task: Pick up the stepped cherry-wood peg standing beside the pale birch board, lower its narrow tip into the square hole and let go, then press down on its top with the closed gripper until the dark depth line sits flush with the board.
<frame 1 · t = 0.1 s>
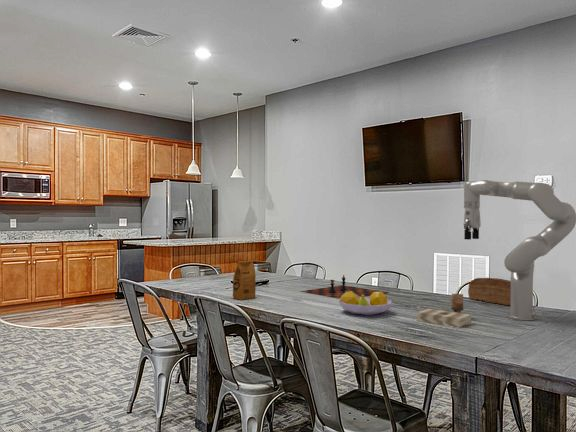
hand: (471, 239, 240), 37 cm above the table, tool pointing down, fingers open, 9 cm apart
bread: (495, 302, 265), on the table
fruit bowl: (364, 313, 234), on the table
coffee package: (244, 298, 274), on the table
peg: (457, 317, 223), on the table
chessboard: (343, 293, 299), on the table
board: (443, 322, 213), on the table
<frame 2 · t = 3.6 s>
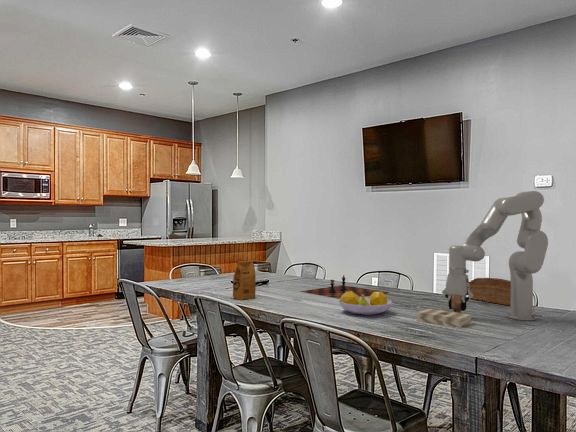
hand: (457, 309, 223), 4 cm above the table, tool pointing down, fingers closed on peg, 5 cm apart
peg: (457, 317, 223), on the table, touching gripper
everything else where it was.
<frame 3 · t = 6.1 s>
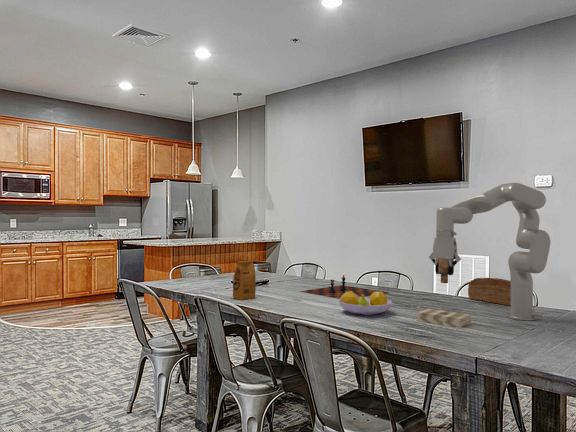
hand: (444, 274, 214), 22 cm above the table, tool pointing down, fingers closed on peg, 5 cm apart
peg: (444, 282, 214), point 18 cm above the table, touching gripper
everything else where it was.
when the fingers open (6 cm above the table, at t = 8.7 s): peg drops 2 cm, resting on board.
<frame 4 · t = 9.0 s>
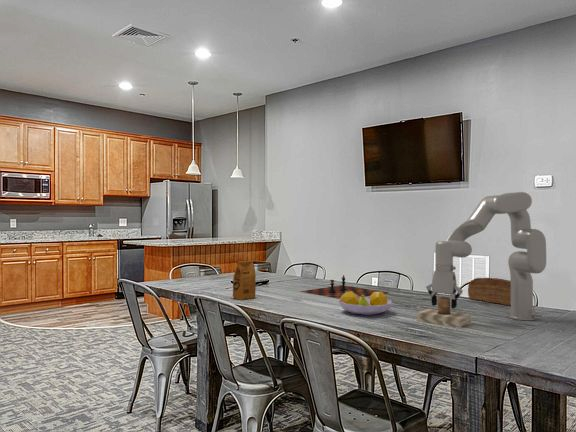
hand: (443, 306, 213), 7 cm above the table, tool pointing down, fingers open, 8 cm apart
peg: (443, 322, 213), resting on board
everything else where it was.
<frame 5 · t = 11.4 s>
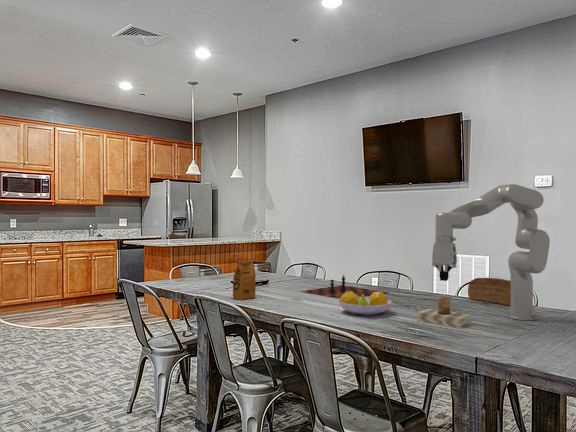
hand: (444, 280, 213), 19 cm above the table, tool pointing down, fingers closed
nothing on the table moved.
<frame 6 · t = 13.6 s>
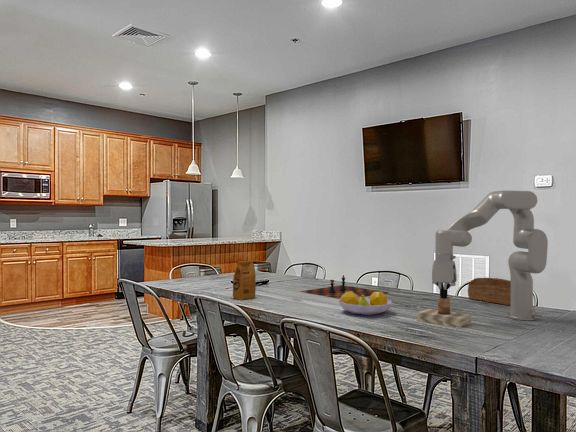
hand: (443, 297, 213), 11 cm above the table, tool pointing down, fingers closed
peg: (444, 322, 213), resting on board, touching gripper
everything else where it was.
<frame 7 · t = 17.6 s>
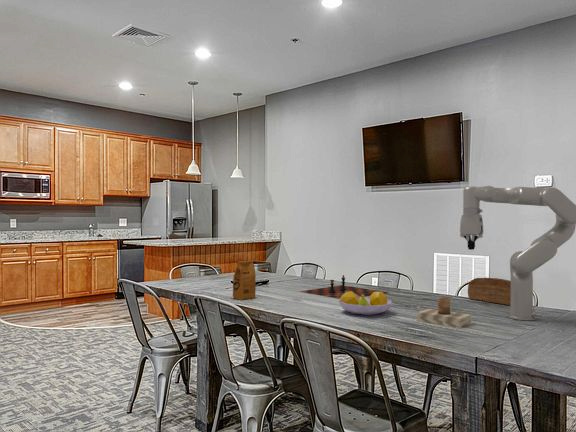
hand: (471, 249, 230), 32 cm above the table, tool pointing down, fingers closed
peg: (443, 322, 213), resting on board
everything else where it was.
at the end: peg 0.0 cm off-centre on the board, point 0.0 cm above the board's base; peg tilted 0°; the gripper is holding nothing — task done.
